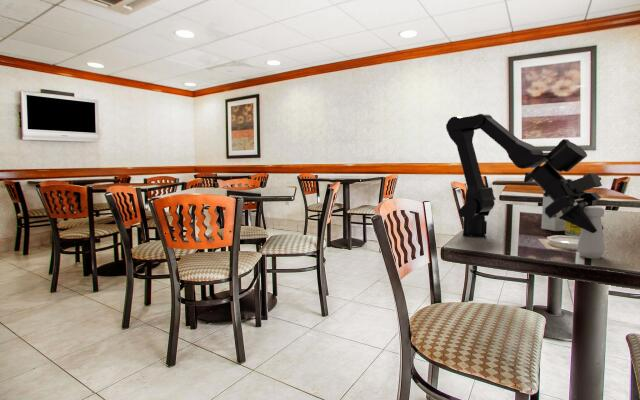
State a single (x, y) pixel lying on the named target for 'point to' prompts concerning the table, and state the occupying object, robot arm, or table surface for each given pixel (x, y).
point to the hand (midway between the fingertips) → (598, 231)
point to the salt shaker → (592, 235)
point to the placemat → (545, 243)
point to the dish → (563, 241)
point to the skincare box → (555, 222)
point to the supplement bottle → (572, 229)
